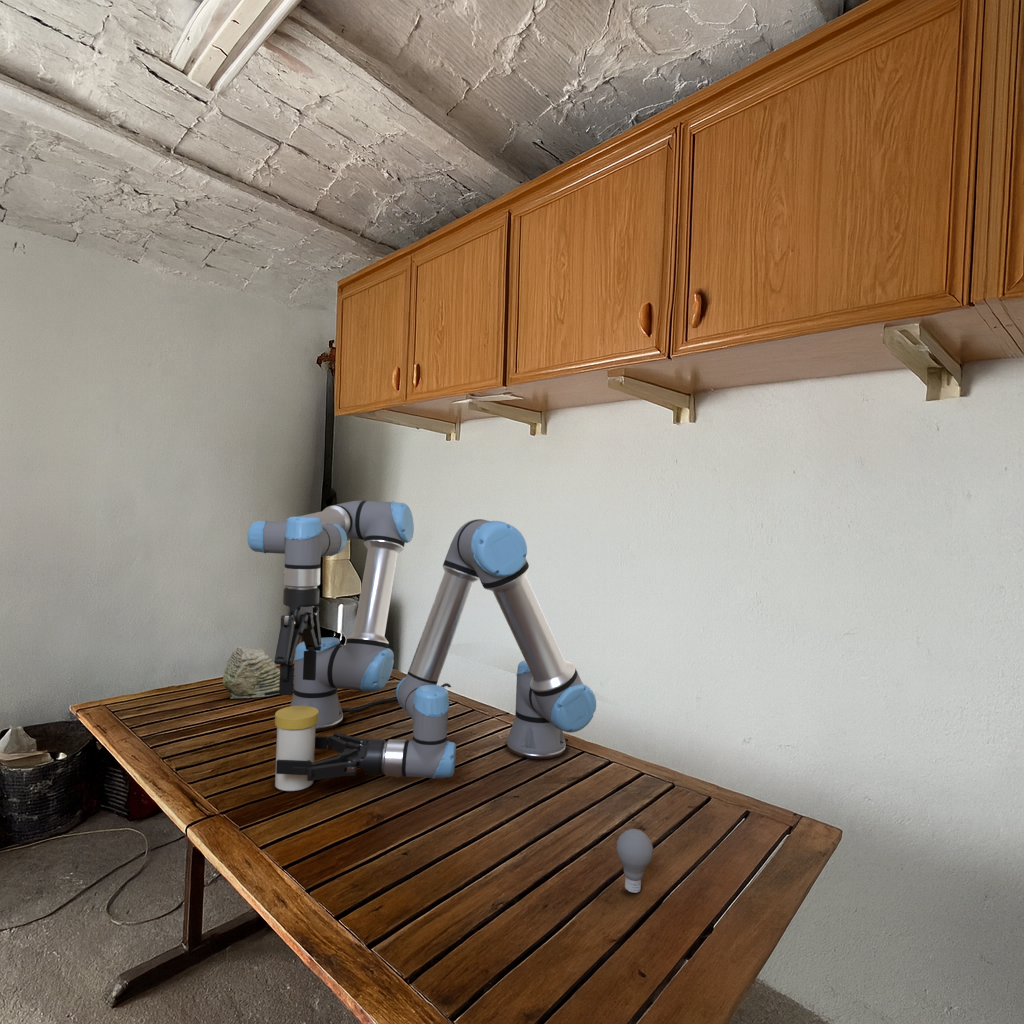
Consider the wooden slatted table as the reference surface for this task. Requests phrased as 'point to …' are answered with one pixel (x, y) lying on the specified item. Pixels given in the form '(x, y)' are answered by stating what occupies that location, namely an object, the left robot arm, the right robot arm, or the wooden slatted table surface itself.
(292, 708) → the lid
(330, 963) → the wooden slatted table surface
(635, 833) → the light bulb
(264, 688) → the fossil
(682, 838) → the wooden slatted table surface
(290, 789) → the jar
